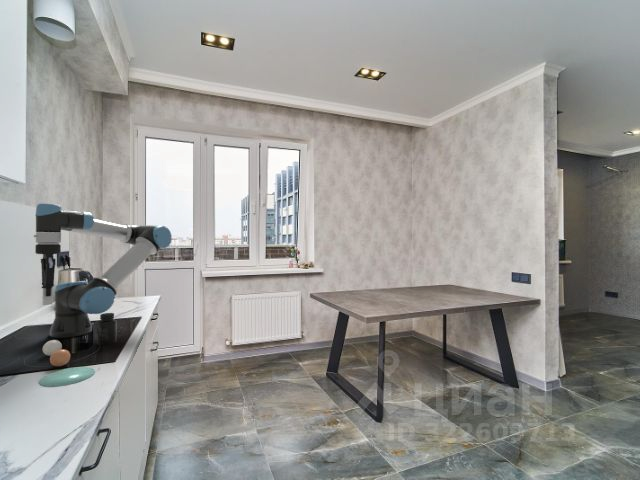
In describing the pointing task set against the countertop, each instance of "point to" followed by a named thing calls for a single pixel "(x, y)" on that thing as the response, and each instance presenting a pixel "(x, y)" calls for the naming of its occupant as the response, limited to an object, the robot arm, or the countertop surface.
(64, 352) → the object ball
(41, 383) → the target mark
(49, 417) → the countertop surface
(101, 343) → the supplement bottle
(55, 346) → the cue ball
